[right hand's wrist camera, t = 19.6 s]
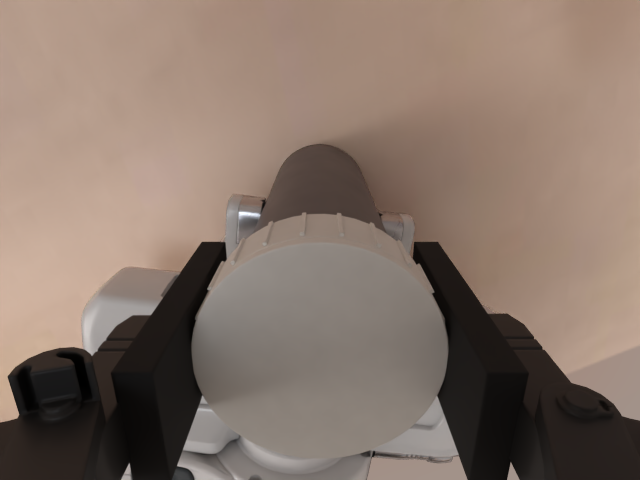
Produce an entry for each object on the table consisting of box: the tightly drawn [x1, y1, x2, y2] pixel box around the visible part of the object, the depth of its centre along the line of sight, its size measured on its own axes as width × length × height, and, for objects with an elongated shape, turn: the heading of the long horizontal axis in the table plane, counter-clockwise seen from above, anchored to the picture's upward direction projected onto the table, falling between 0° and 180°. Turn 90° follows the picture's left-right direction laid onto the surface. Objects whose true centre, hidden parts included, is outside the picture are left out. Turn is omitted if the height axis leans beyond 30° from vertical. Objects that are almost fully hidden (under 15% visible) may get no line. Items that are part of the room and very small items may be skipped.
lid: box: [191, 212, 449, 459], centre depth 11 cm, size 6×6×2 cm
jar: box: [253, 144, 387, 234], centre depth 18 cm, size 5×5×16 cm
